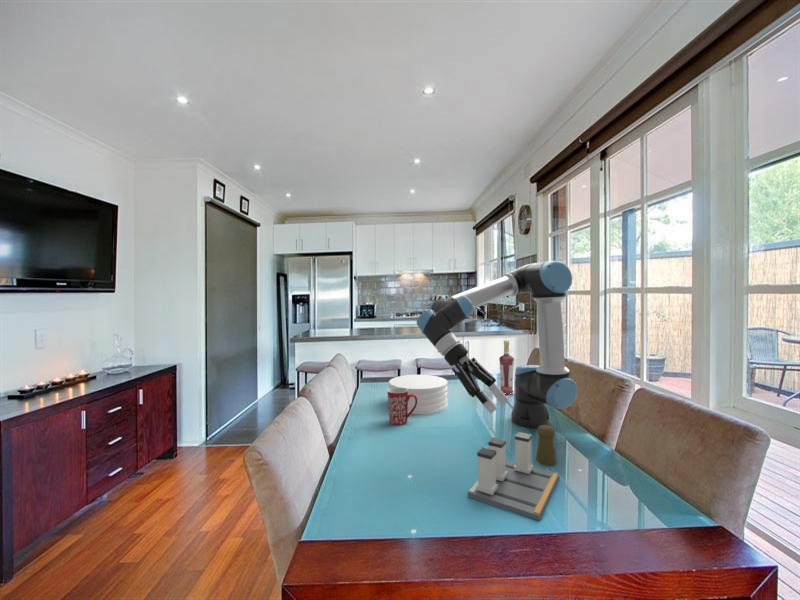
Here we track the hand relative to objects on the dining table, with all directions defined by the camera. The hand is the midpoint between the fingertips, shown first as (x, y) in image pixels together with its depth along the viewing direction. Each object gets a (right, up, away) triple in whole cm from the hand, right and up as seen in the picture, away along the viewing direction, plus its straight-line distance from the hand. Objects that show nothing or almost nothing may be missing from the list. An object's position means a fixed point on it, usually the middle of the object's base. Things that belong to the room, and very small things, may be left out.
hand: (500, 406), depth 107 cm
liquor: (+26, -18, +81) cm, 87 cm away
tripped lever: (+6, -17, -4) cm, 19 cm away
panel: (+1, -19, -10) cm, 22 cm away
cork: (+16, -19, +5) cm, 25 cm away
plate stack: (-21, -19, +64) cm, 70 cm away
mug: (-29, -19, +40) cm, 53 cm away
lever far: (-7, -18, -14) cm, 24 cm away
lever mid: (-3, -17, -7) cm, 19 cm away
